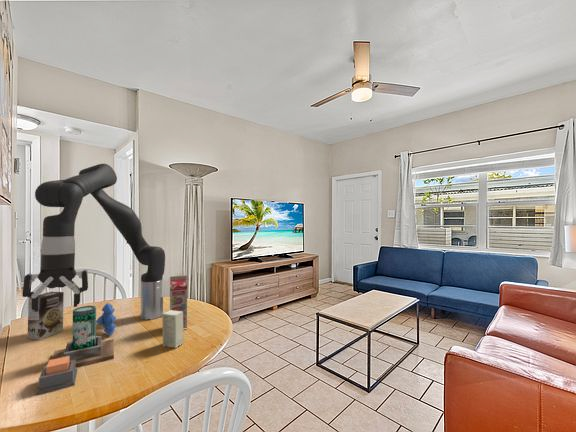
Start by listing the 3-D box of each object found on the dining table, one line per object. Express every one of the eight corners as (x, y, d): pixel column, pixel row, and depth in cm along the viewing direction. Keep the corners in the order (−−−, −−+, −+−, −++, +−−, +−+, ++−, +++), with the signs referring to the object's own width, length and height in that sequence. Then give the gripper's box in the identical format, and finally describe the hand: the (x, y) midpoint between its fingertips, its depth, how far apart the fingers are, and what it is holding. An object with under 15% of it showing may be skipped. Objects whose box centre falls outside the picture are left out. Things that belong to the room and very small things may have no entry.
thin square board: (113, 342, 103) (113, 331, 103) (113, 358, 92) (113, 346, 92) (54, 354, 94) (54, 342, 94) (46, 374, 82) (47, 360, 82)
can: (70, 358, 89) (70, 312, 89) (76, 350, 95) (76, 306, 95) (92, 355, 91) (93, 310, 92) (97, 347, 97) (97, 304, 97)
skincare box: (183, 343, 103) (184, 311, 103) (175, 349, 99) (175, 315, 99) (170, 341, 105) (170, 309, 105) (161, 346, 101) (161, 313, 101)
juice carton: (169, 325, 120) (170, 275, 120) (185, 323, 122) (186, 274, 122) (169, 331, 114) (170, 278, 114) (186, 329, 116) (187, 277, 116)
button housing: (77, 371, 84) (77, 358, 84) (74, 385, 77) (74, 370, 77) (42, 379, 80) (42, 366, 80) (36, 394, 73) (36, 379, 73)
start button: (69, 365, 82) (69, 355, 82) (67, 373, 78) (67, 362, 78) (49, 370, 79) (49, 360, 79) (46, 378, 75) (46, 367, 75)
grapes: (92, 332, 112) (92, 303, 112) (111, 327, 117) (111, 299, 117) (99, 341, 104) (99, 309, 104) (119, 336, 109) (119, 305, 109)
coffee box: (40, 340, 105) (40, 298, 105) (26, 338, 106) (27, 297, 106) (64, 330, 113) (64, 291, 113) (51, 329, 115) (51, 290, 115)
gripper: (89, 249, 86) (88, 301, 86) (28, 251, 78) (26, 308, 78) (87, 252, 80) (86, 308, 79) (20, 254, 72) (18, 316, 72)
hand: (56, 308), depth 79 cm, fingers open, 8 cm apart
